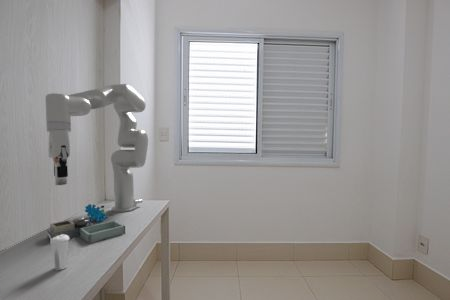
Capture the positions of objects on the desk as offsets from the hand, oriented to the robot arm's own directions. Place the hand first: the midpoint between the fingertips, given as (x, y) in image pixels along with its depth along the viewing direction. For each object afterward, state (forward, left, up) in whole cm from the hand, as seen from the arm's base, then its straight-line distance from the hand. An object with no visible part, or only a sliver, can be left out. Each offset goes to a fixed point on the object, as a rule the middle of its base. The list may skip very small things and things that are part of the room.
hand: (61, 176), depth 92 cm
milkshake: (+7, +27, -23) cm, 36 cm away
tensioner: (-3, 0, -23) cm, 23 cm away
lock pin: (0, 0, -3) cm, 3 cm away
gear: (-16, -11, -23) cm, 30 cm away
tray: (-11, +10, -23) cm, 27 cm away
